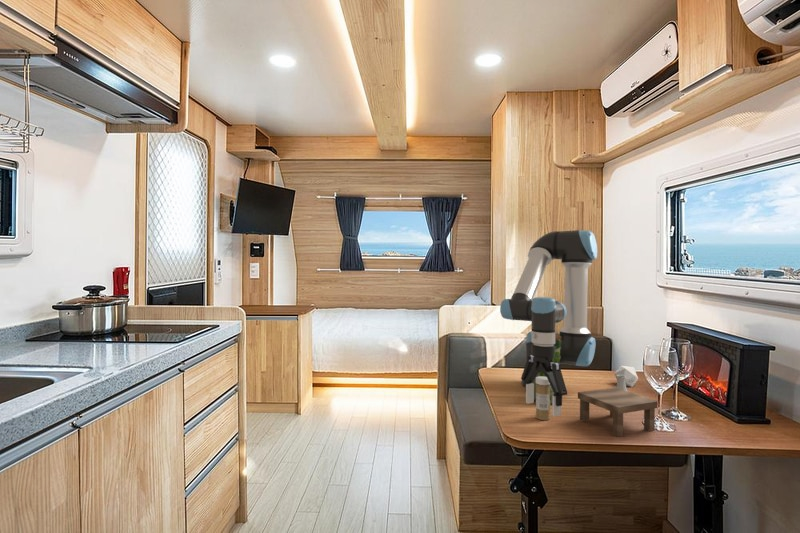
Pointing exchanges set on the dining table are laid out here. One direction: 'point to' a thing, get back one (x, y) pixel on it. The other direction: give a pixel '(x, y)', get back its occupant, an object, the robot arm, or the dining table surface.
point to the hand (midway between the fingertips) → (542, 408)
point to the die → (627, 375)
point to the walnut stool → (618, 406)
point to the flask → (621, 382)
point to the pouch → (555, 360)
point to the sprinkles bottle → (542, 398)
